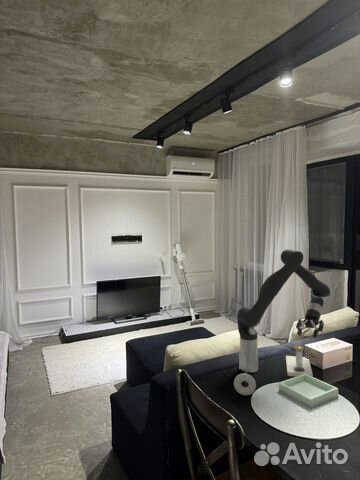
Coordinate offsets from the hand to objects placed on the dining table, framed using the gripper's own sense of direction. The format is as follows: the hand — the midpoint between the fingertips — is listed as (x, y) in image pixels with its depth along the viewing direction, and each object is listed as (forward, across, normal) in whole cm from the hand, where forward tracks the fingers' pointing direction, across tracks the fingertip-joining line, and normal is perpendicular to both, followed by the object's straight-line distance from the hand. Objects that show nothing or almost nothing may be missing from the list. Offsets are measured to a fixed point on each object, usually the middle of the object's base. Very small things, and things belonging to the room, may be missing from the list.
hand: (306, 336), depth 177 cm
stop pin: (+18, -2, +7) cm, 20 cm away
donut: (+47, -10, -17) cm, 51 cm away
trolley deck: (+13, -5, +10) cm, 18 cm away
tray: (+33, +10, -2) cm, 34 cm away
